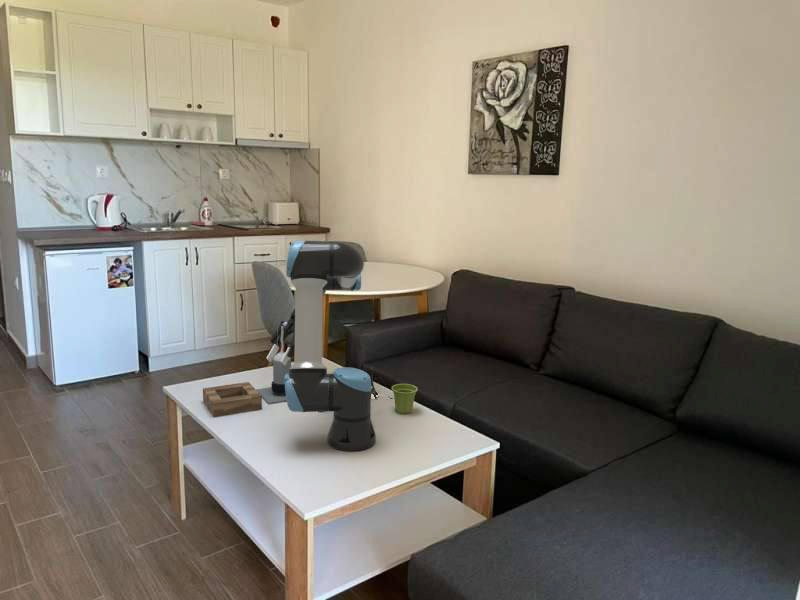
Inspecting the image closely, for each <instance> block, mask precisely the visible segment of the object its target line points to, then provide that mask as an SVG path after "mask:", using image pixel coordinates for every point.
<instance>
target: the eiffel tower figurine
mask: <svg viewBox="0 0 800 600" xmlns="http://www.w3.org/2000/svg"><path fill="white" fill-rule="evenodd" d="M370 378H371V388H372V390H371V394H373V395H374V397H375V399H374V400H378V399H377V397H376V395H378V393H377V392H376V391H377V390H376V388H375V386H374V382H373V381H374V379H373V378H374V376H373V366H371V368H370ZM388 397H389V398H390V396H388ZM390 399H393V400H394V398H393V397H391V398H390Z"/></svg>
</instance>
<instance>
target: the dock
mask: <svg viewBox="0 0 800 600" xmlns="http://www.w3.org/2000/svg"><path fill="white" fill-rule="evenodd" d="M256 389H257V388H255V387H254V386H253V385H252V384H251V382H249V381H246V382H237V383H231V384H224V385H223V384H222V385H217V386H208V387H202V401H204V402H203V403H204V405H205V404H206V405H205V407H206V408H207V407H208V408H207V409H208V411H209V410H210V411H209V412H210V414H211V415H213V416H212V417H213V418H217V417H223V416H230V415H235V414H240V413H248V412H253V411H259V410H263V401H262V399H263V398H262V396H261V395H260V394H259V393H258V391H257V390H256Z"/></svg>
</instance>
